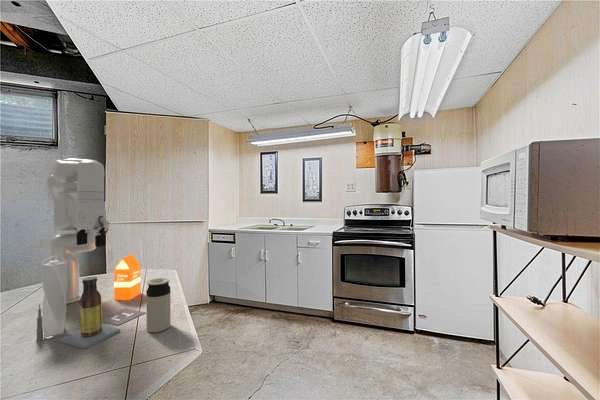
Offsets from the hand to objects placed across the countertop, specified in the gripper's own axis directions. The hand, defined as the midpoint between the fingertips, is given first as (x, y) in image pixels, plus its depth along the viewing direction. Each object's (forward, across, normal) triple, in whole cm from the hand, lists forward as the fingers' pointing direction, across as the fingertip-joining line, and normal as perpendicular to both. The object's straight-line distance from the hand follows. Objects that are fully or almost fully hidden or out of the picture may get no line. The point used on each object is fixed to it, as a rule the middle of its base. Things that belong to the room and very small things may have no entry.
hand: (91, 245), depth 95 cm
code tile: (+32, -4, +14) cm, 36 cm away
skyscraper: (+33, -15, -4) cm, 36 cm away
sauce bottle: (+31, 0, 0) cm, 31 cm away
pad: (+32, +1, 0) cm, 32 cm away
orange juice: (+33, -23, +31) cm, 51 cm away
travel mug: (+32, +18, +13) cm, 39 cm away
